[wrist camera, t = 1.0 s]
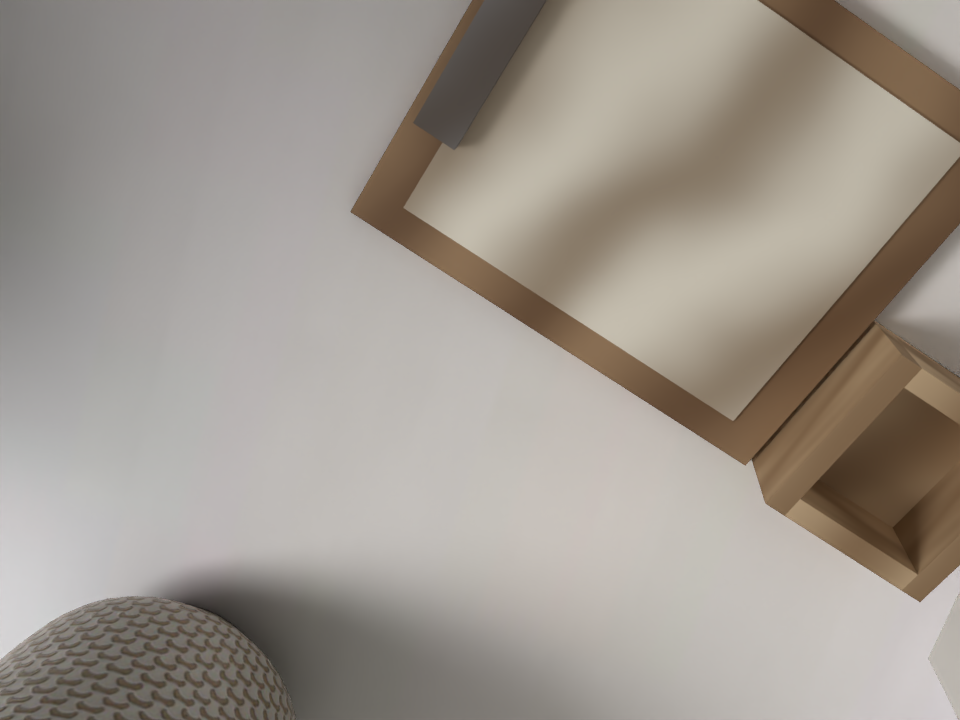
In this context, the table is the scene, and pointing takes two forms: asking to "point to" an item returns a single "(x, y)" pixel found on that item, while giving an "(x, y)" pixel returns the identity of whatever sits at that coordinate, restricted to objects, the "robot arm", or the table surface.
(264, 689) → the planter
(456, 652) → the table surface
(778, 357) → the clipboard
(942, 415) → the holder
